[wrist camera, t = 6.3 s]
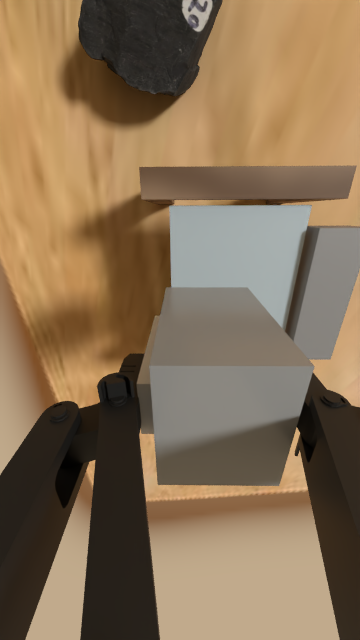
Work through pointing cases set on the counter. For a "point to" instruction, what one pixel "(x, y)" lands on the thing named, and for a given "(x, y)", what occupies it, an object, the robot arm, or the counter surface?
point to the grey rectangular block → (223, 389)
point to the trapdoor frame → (246, 183)
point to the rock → (149, 39)
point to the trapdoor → (271, 264)
